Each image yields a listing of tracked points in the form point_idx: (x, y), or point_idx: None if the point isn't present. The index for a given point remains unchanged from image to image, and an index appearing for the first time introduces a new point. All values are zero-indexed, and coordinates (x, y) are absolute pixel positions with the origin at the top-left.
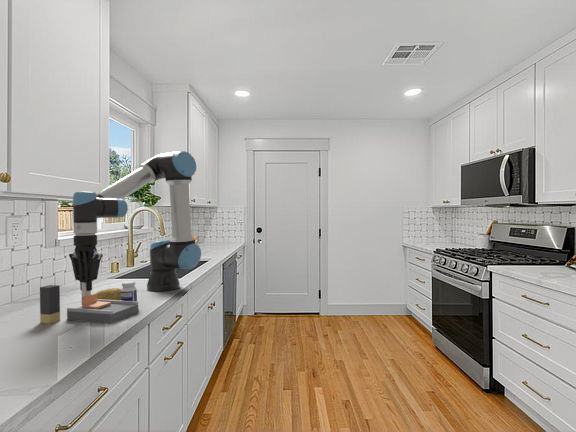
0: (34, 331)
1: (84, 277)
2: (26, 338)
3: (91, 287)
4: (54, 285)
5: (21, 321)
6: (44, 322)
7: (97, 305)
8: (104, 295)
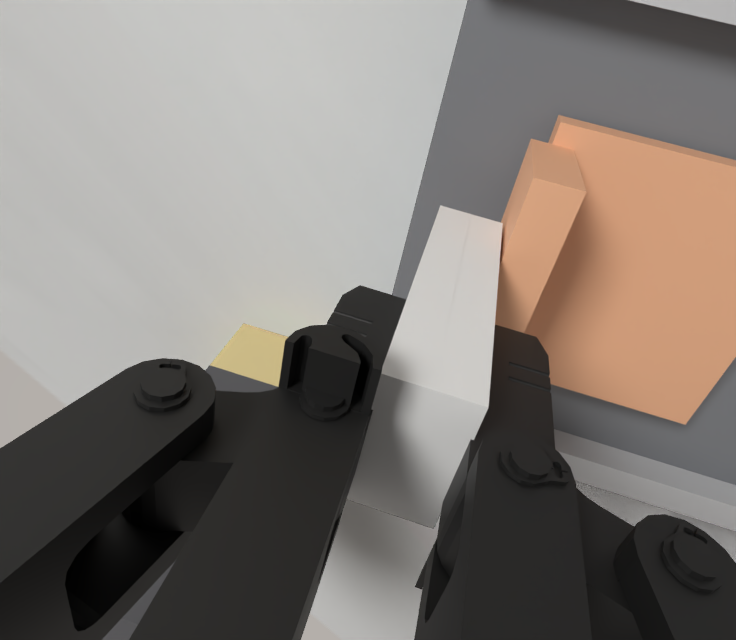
0: (345, 535)
1: (285, 461)
2: (390, 613)
3: (543, 387)
4: (121, 626)
5: (84, 347)
6: None
7: (669, 362)
8: None
